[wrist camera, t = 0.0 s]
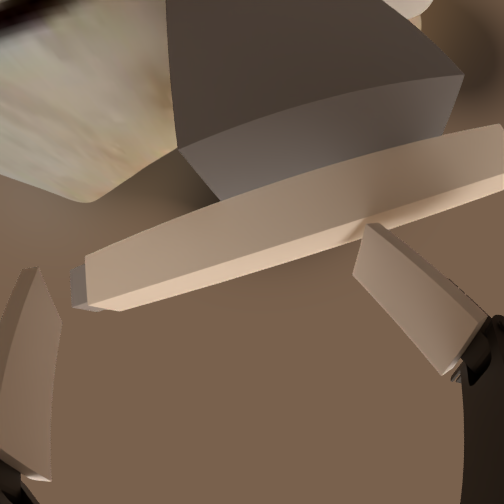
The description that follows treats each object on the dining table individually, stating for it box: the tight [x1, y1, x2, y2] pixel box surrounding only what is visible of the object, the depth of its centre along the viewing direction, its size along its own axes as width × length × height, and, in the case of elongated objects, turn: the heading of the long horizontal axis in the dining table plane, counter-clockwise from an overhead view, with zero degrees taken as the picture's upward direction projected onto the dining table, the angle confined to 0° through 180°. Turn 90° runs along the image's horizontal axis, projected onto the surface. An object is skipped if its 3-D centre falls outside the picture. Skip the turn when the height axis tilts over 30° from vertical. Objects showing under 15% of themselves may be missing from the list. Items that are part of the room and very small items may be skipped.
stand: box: [166, 0, 464, 201], centre depth 20 cm, size 14×14×32 cm
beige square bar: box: [70, 124, 504, 312], centre depth 14 cm, size 3×28×3 cm, turn 106°
